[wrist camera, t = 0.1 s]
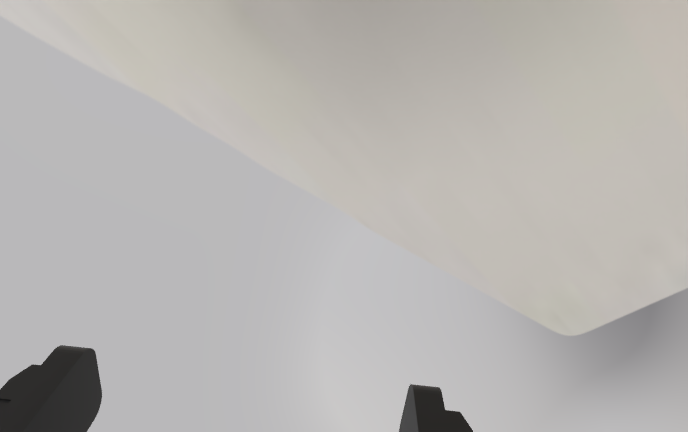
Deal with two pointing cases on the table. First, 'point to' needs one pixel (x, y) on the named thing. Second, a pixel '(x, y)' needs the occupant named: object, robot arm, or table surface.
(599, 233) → the table surface
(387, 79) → the table surface
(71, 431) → the robot arm
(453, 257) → the table surface
